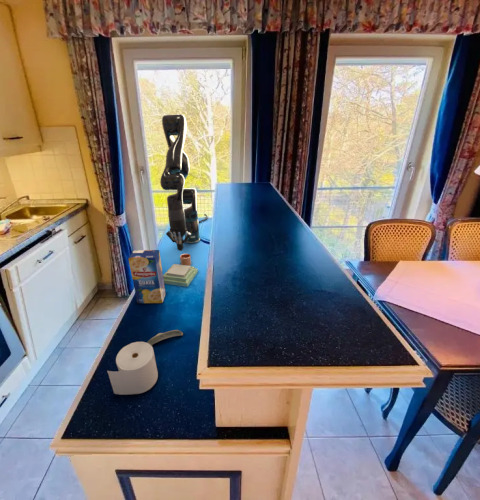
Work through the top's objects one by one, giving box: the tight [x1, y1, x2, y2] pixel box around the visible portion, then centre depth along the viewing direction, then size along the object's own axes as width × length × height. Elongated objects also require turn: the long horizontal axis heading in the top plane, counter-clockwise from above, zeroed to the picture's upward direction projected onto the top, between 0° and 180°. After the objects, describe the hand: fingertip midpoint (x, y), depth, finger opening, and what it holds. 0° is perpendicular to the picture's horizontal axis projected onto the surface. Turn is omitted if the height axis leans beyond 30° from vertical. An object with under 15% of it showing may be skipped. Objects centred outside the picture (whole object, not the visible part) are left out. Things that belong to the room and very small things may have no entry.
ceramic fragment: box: [146, 329, 184, 346], centre depth 100 cm, size 14×5×4 cm, turn 113°
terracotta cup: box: [179, 253, 192, 266], centre depth 148 cm, size 6×6×5 cm
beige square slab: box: [165, 263, 192, 277], centre depth 136 cm, size 9×9×2 cm
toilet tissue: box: [106, 341, 159, 396], centre depth 83 cm, size 11×12×10 cm
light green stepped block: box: [163, 263, 199, 288], centre depth 137 cm, size 14×14×4 cm
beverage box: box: [127, 249, 167, 304], centre depth 118 cm, size 7×11×22 cm, turn 88°
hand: (180, 249), depth 138 cm, fingers closed
